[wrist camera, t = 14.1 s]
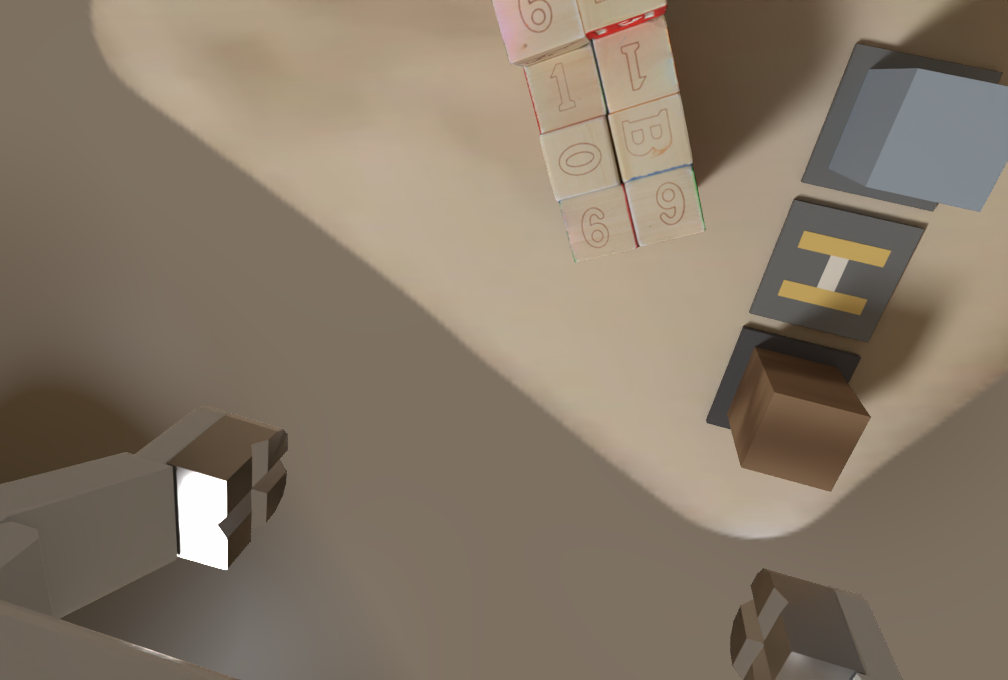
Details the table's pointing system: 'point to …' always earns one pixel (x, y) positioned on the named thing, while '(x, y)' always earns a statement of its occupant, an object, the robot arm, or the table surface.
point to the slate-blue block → (926, 136)
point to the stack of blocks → (607, 119)
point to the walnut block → (795, 419)
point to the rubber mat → (777, 344)
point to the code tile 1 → (834, 270)
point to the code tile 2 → (845, 102)
